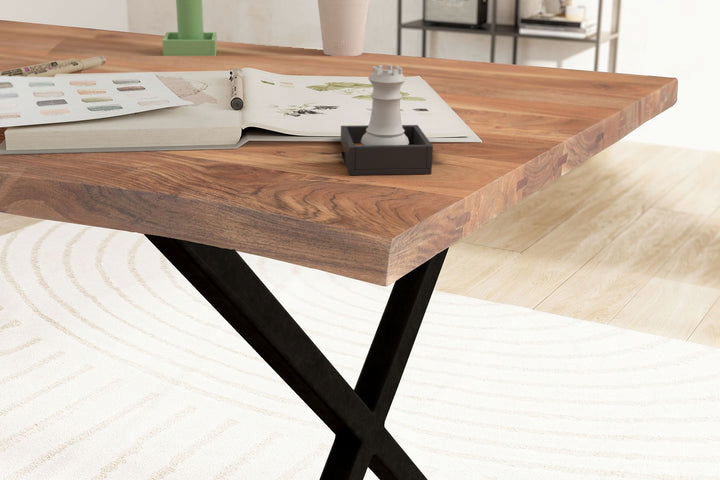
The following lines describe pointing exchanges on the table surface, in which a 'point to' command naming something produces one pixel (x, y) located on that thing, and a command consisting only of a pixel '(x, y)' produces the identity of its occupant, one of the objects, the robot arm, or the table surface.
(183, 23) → the green peg
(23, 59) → the table surface
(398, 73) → the rook chess piece
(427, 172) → the dark tray
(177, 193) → the table surface
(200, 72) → the table surface
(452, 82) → the table surface
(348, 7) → the dixie cup
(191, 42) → the green tray
